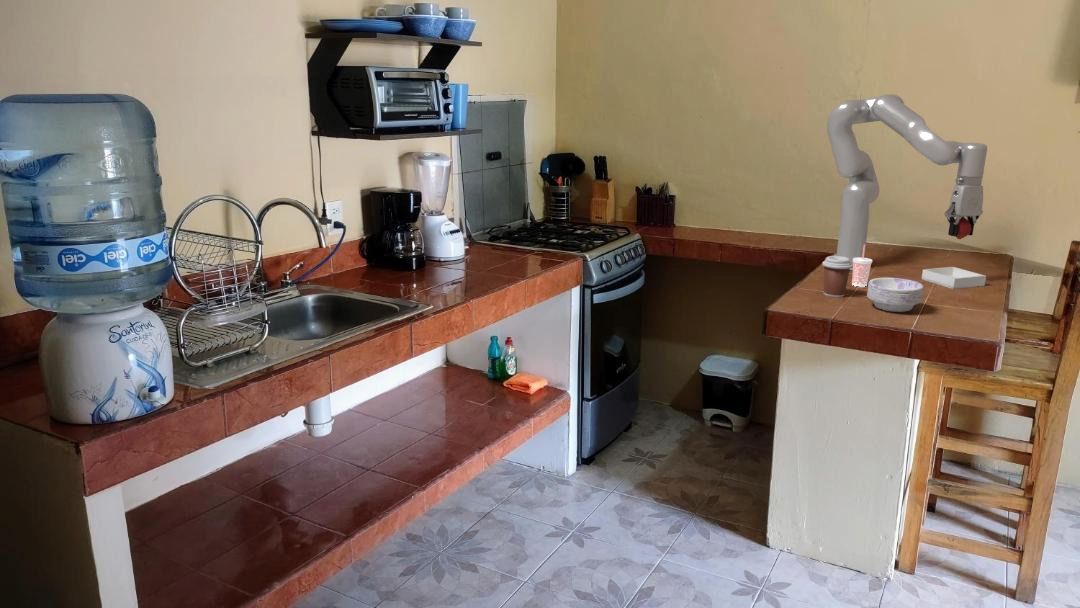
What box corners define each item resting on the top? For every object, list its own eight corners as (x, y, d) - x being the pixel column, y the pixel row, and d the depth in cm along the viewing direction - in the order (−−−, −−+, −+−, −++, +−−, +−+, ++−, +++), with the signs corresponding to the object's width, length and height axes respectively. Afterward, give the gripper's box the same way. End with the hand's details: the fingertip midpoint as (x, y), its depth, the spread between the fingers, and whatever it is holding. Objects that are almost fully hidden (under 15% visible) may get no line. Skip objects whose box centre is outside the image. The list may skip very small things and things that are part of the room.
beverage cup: (845, 284, 261) (850, 243, 257) (859, 282, 264) (864, 242, 260) (859, 288, 256) (864, 247, 252) (873, 286, 258) (878, 245, 254)
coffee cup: (845, 300, 242) (850, 262, 239) (815, 295, 247) (819, 259, 244) (851, 293, 250) (856, 257, 246) (822, 289, 254) (826, 253, 251)
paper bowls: (855, 306, 236) (858, 281, 234) (883, 298, 244) (887, 274, 242) (902, 318, 224) (906, 292, 222) (930, 310, 233) (934, 284, 230)
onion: (967, 238, 262) (971, 214, 260) (970, 241, 257) (974, 217, 254) (948, 237, 264) (952, 213, 261) (951, 240, 258) (955, 216, 256)
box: (953, 289, 256) (954, 278, 255) (921, 279, 268) (922, 269, 267) (984, 285, 260) (986, 275, 259) (952, 276, 273) (953, 266, 272)
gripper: (957, 183, 249) (949, 238, 254) (998, 181, 254) (989, 235, 259) (939, 180, 255) (931, 234, 260) (979, 179, 261) (970, 231, 266)
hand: (960, 234), depth 260 cm, fingers closed on onion, 5 cm apart
